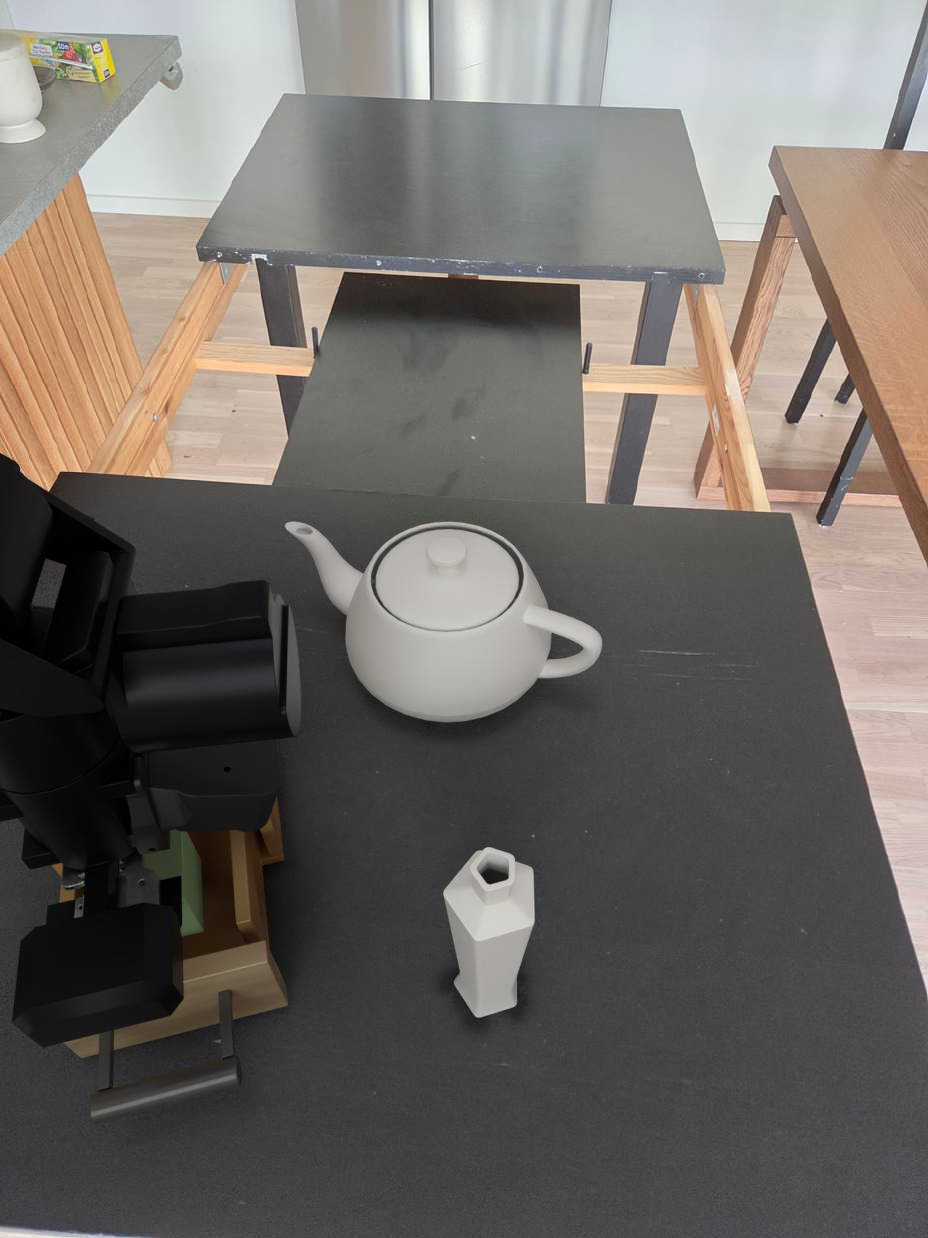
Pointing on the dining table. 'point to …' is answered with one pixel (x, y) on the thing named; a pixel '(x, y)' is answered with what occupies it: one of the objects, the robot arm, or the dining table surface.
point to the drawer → (201, 982)
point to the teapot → (447, 621)
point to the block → (182, 877)
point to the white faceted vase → (490, 927)
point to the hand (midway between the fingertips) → (156, 896)
